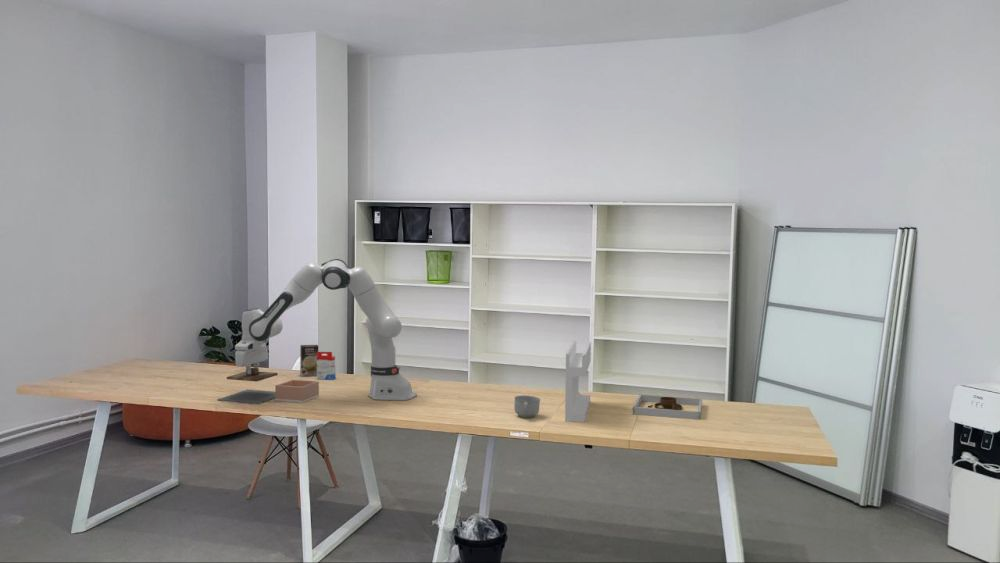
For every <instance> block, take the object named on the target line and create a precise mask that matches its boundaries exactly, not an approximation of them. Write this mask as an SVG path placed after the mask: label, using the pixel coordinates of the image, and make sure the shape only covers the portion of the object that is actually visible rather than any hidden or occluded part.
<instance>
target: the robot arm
mask: <svg viewBox="0 0 1000 563" xmlns="http://www.w3.org/2000/svg"><path fill="white" fill-rule="evenodd" d="M348 267H349V266H348V265H347V263H346V262H345V261H344V260H342V259H340V258H334V259H330V260H329V261H326V262H323V263H321V265H319V264H318V263H316V262H314V261H313V262H312V261H311V262H308V263H306V264H305V265H303V266H302V267H301V268H300V269H299V270H298V271H297V272H296V273H295V275H293V277H292V278H291V280H290V281H289V282H288V284H287V285H286V287H285V288H284V289H283V290H282V292H281V293H280V294H279V296H278V297H277V298H276V299H275V300H274V301H273V302H272V303H271V305H270V306H268V308H267V309H266V310H265V312H264V311H263V310H262V309H261V308H258V307H257V308H251V309H247V310H245V311H243V313H242V316H241V331H242V334H241V340H240V341H239V342H238V343H237V344H235V345H234V349H235V350H236V351H235V353H234V355H235V358H234V362H235V366H236V367H241V368H244V367H245V370H246V369H247V373H248V374H252V373H253V370H251V368H252V365H253V368H259V365H260V363H261V362H265V361H268V359H269V351H268V347H267V343H266V342H265V340H267V339H270V338H273V337H276V336H278V335H280V333H281V332H282V330H283V323H282V320H281V319H280V317H282V315H283V314H284V313H285V312H286V311H287V310H290V308H292V307H295V306H297V305H299V304H301V303H304V302H305V301H306V300H307V299H308V298H309V297H310V296H311V295H312V294H313V293H314V292H315V291H316V289H317V288H318V287H319V286H320V285H321V284H323V286H324V287H325V288H326V289H329V290H331V291H332V290H333V291H334V290H335V291H336V290H340V289H346V288H347V287H348V288H349V291H350V292H351V293H352V295H353V297H354V299H355V301H356V303H357V304H358V307H359V308H360V311H362V312H363V313H364V315H365V316H366V320H365V327H366V329H367V332H368V337H369V342H370V348H371V366H370V377H371V378H370V379H371V380H370V387H369V390H368V395H367V396H368V397H369V398H371V399H373V400H376V401H377V400H379V401H380V400H381V401H409V400H411V399H414V398H415V397H417V394H418V393H417V392H416V391H413V390H412V384H411V382H410V381H409V380H408V379H406V378H405V377H404V376H403V375H402V374H400V370H401V366H399V367H398V366H397V365H396V347H395V345H394V341H393V338H395V337H398V336H399V335H400V333H401V331H402V322H401V321H400V319H399V318H398V317H397V316H396V315H395V313H394V312H393V310H392V309H391V308H390V306H389V305H388V304H387V302H386V301H385V299H384V297H383V296H382V295H381V292H380V291H379V289H378V287H377V285H376V284H375V282H374V280H373V279H372V277H371V275H370V274H369V273H368V271H367V270H366V269H365V268H364V267H363V266H354V267H352V268H348Z"/></svg>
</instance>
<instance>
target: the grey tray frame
mask: <svg viewBox="0 0 1000 563" xmlns="http://www.w3.org/2000/svg"><path fill="white" fill-rule="evenodd" d="M661 397H673V398H676V404H680V405H684V406H685V405H686V406H687V405H688V406H698V410H697V411H693V410H682V409H681V410H669V409H656V408H655V407H654V408H653V407H643V406H640V405H641V402H645V403H646V402H647V403H660V398H661ZM702 409H703V398H695V397H682V396H667V395H654V394H642V393H641V394H640V393H639V395H638V396H637V399H636V400H635V402H634V404H633V406H632V415H640V416H650V417H651V416H652V417H663V418H664V417H665V418H677V419H691V420H701V416H702V411H703V410H702Z"/></svg>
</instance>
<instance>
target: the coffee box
mask: <svg viewBox="0 0 1000 563" xmlns="http://www.w3.org/2000/svg"><path fill="white" fill-rule="evenodd" d="M317 352H319V345H318V344H300V352H299V353H300V355H299V357H300V360H299V361H300V362H299V365H300V367H299V368H300V371H299V372H300V374H299V375H300V377H301V378H304V377H307V378H308V377H317Z"/></svg>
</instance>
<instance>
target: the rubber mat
mask: <svg viewBox="0 0 1000 563" xmlns="http://www.w3.org/2000/svg"><path fill="white" fill-rule="evenodd" d="M274 399H276V394H275V391H273V390H260V389H248V388H247V389H245V390H242V391H238V392H236V393H233V394H229V395H226V396H224V397H221V398H217V401H220V402H233V403H240V404H241V403H242V404H243V403H244V404H246V403H247V404H255V405H261V404H263V403H266V402H269V401H271V400H274Z"/></svg>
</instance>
